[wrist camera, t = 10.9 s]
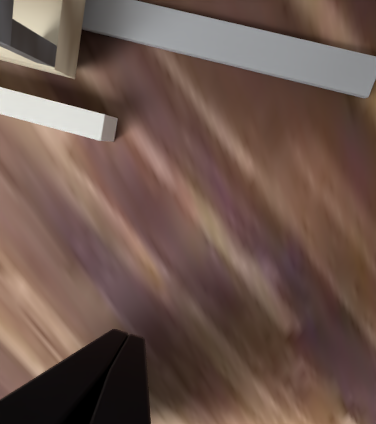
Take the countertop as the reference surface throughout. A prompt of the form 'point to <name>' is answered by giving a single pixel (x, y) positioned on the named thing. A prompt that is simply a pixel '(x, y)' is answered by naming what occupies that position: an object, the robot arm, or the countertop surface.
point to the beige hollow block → (42, 34)
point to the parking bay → (201, 48)
